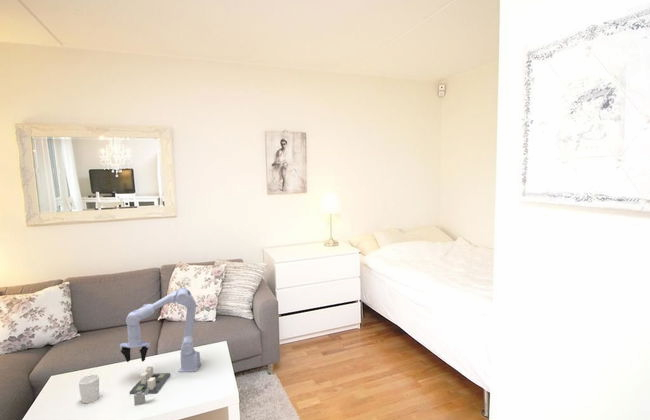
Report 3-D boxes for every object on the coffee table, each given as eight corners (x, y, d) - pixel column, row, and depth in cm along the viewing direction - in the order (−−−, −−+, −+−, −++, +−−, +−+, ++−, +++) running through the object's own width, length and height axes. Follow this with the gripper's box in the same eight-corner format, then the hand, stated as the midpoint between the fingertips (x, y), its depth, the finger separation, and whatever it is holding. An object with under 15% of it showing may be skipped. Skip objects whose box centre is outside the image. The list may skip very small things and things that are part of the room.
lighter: (134, 405, 152) (133, 388, 152) (135, 402, 154) (134, 386, 153) (151, 402, 154) (150, 385, 154) (152, 399, 156) (151, 383, 155)
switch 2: (153, 374, 174) (153, 366, 174) (150, 377, 171) (150, 369, 171) (148, 374, 174) (148, 366, 174) (146, 377, 171) (145, 369, 171)
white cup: (84, 406, 152) (83, 386, 151) (77, 400, 156) (75, 380, 155) (103, 397, 159) (102, 377, 158) (95, 391, 163) (94, 372, 162)
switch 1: (148, 380, 169) (148, 371, 169) (145, 383, 166) (145, 375, 166) (144, 380, 169) (143, 372, 169) (140, 383, 166) (140, 375, 166)
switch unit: (170, 375, 176) (170, 372, 175) (156, 393, 161) (156, 390, 161) (145, 376, 175) (145, 373, 175) (129, 394, 160) (129, 391, 160)
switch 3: (155, 385, 164) (155, 377, 164) (152, 389, 161) (152, 381, 161) (151, 385, 164) (150, 377, 164) (147, 389, 161) (147, 381, 161)
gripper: (152, 331, 175) (153, 356, 176) (124, 332, 175) (126, 357, 176) (145, 337, 168) (147, 363, 169) (116, 338, 168) (118, 364, 169)
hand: (136, 360), depth 172 cm, fingers open, 7 cm apart
